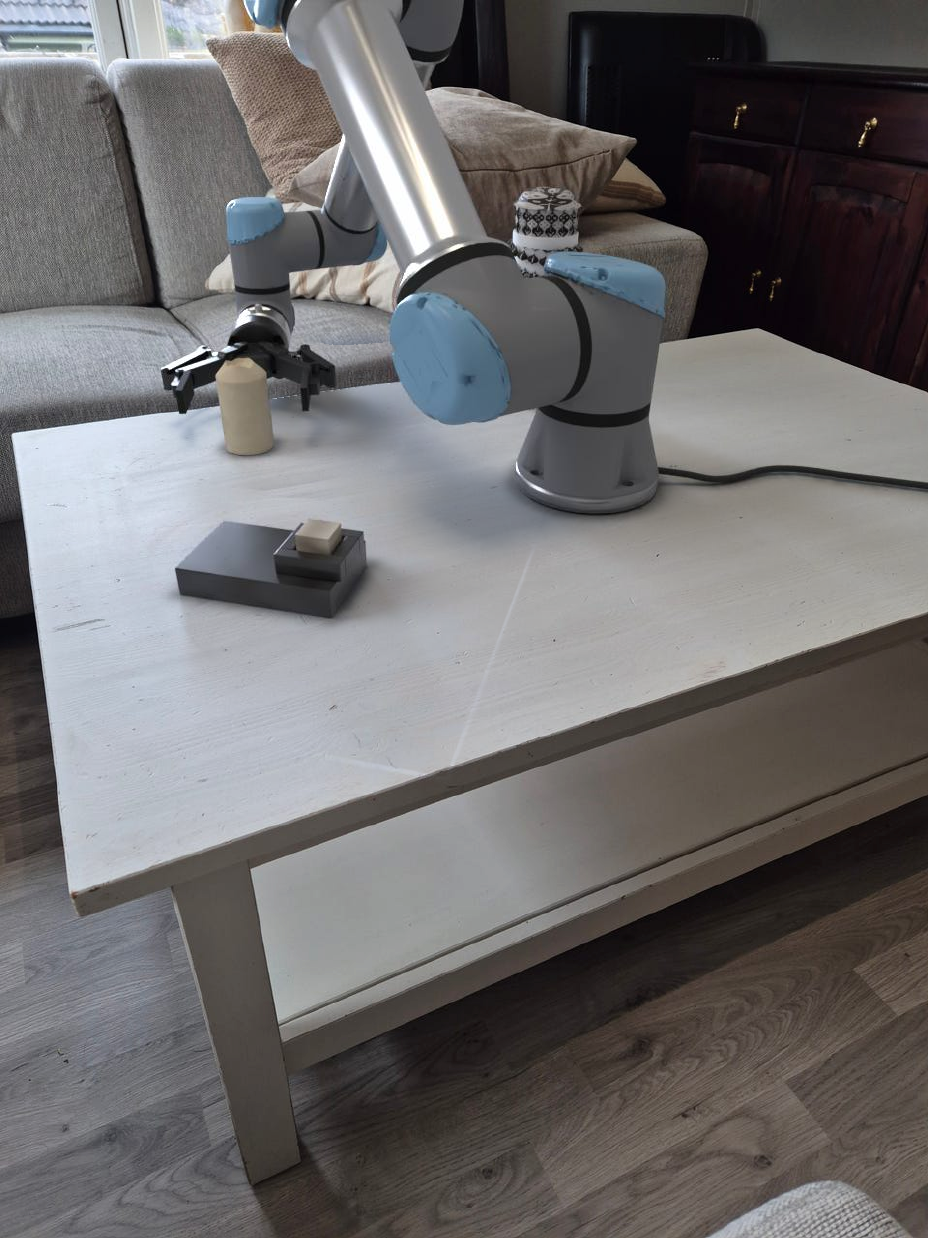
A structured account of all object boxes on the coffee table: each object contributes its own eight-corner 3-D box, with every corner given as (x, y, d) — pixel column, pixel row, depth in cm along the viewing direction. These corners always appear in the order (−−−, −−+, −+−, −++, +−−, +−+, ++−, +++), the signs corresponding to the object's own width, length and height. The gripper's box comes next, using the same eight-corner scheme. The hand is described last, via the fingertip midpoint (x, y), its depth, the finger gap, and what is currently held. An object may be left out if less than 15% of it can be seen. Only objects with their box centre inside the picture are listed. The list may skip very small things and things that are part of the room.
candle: (263, 458, 101) (253, 371, 95) (218, 453, 101) (204, 367, 96) (281, 439, 105) (272, 355, 99) (237, 435, 106) (226, 351, 100)
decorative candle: (533, 413, 113) (547, 199, 99) (487, 392, 119) (493, 187, 105) (584, 398, 118) (604, 191, 104) (537, 378, 124) (549, 181, 110)
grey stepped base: (371, 566, 81) (369, 522, 79) (336, 619, 74) (333, 573, 72) (226, 545, 84) (220, 502, 82) (179, 594, 77) (170, 549, 74)
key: (342, 540, 77) (341, 522, 76) (330, 557, 74) (328, 539, 73) (310, 536, 77) (308, 518, 76) (296, 552, 75) (294, 534, 74)
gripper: (157, 314, 113) (120, 369, 96) (353, 312, 116) (353, 365, 98) (167, 372, 117) (134, 435, 100) (356, 369, 120) (357, 430, 102)
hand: (242, 401), depth 99 cm, fingers open, 13 cm apart
